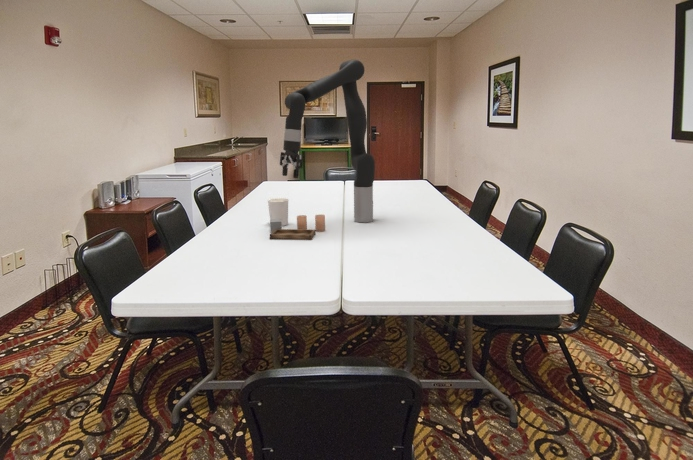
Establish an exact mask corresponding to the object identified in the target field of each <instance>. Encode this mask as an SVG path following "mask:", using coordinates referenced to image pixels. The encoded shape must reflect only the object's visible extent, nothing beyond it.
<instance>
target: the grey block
mask: <svg viewBox="0 0 693 460" xmlns="http://www.w3.org/2000/svg"><path fill="white" fill-rule="evenodd" d="M269 226H270V227H269V229H270V230H269V231H270V234H271V233H272V232H273V231H274V230H275V229H283V228H282V227H283V226H281V219H276V220H270V219H269Z"/></svg>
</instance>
